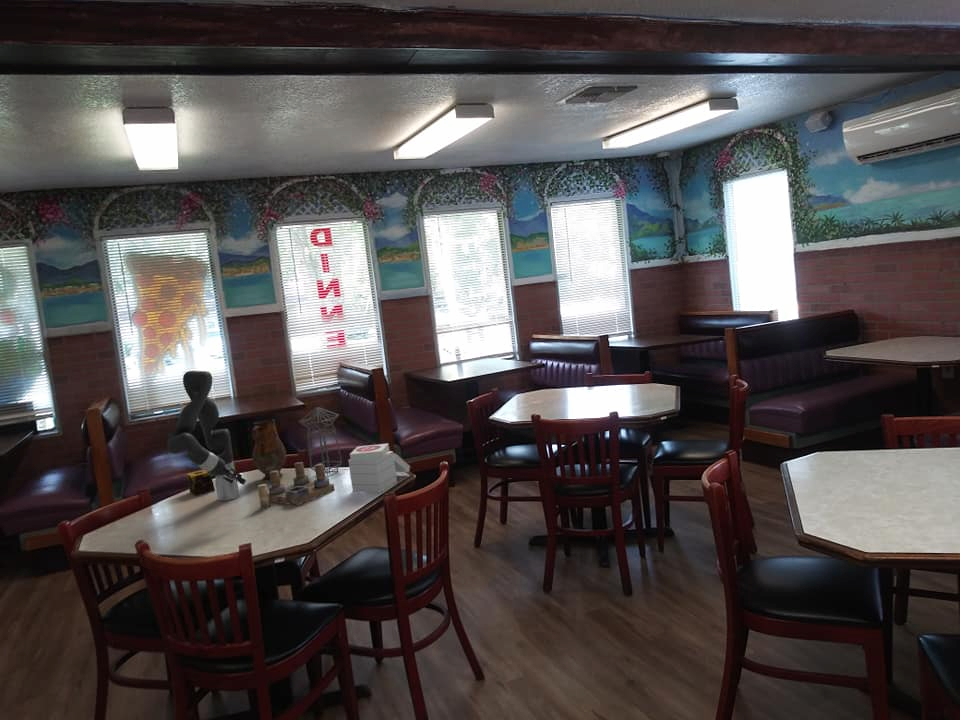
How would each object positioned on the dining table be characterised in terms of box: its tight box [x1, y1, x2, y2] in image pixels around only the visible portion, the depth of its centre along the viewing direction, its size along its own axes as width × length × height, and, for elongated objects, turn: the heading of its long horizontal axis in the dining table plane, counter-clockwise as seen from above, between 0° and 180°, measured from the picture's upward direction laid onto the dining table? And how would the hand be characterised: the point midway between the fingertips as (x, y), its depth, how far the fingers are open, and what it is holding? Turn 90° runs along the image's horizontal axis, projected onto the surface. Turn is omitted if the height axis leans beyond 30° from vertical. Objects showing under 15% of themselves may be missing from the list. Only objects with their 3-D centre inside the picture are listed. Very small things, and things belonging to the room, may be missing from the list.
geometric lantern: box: [298, 406, 343, 477], centre depth 370 cm, size 16×16×35 cm
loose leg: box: [257, 483, 271, 509], centre depth 325 cm, size 4×4×10 cm
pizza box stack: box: [347, 443, 411, 493], centre depth 342 cm, size 19×30×18 cm, turn 155°
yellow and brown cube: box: [186, 469, 216, 497], centre depth 367 cm, size 10×10×10 cm
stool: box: [268, 461, 335, 506], centre depth 337 cm, size 22×22×13 cm
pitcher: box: [251, 418, 287, 481], centre depth 375 cm, size 17×21×30 cm
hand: (238, 482), depth 315 cm, fingers open, 8 cm apart
